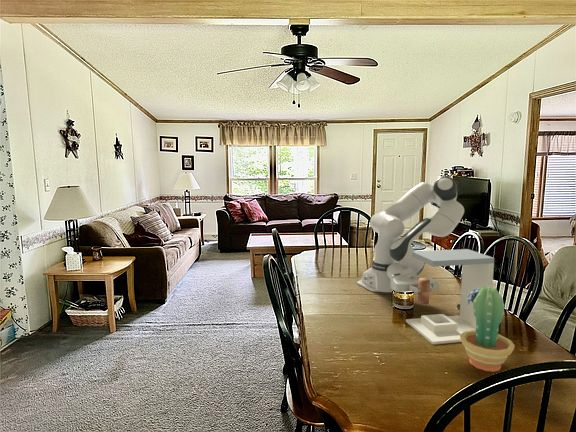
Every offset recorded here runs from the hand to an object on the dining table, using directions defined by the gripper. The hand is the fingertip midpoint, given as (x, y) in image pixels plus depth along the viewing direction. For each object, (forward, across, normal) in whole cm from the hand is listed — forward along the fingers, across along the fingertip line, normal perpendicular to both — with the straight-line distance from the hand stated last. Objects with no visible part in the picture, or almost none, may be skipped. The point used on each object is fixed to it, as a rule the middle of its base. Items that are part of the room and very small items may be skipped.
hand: (424, 290), depth 154 cm
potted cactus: (+38, +1, -12) cm, 40 cm away
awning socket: (+13, -2, -12) cm, 18 cm away
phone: (-1, -22, -12) cm, 25 cm away
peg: (-1, 0, -6) cm, 6 cm away
